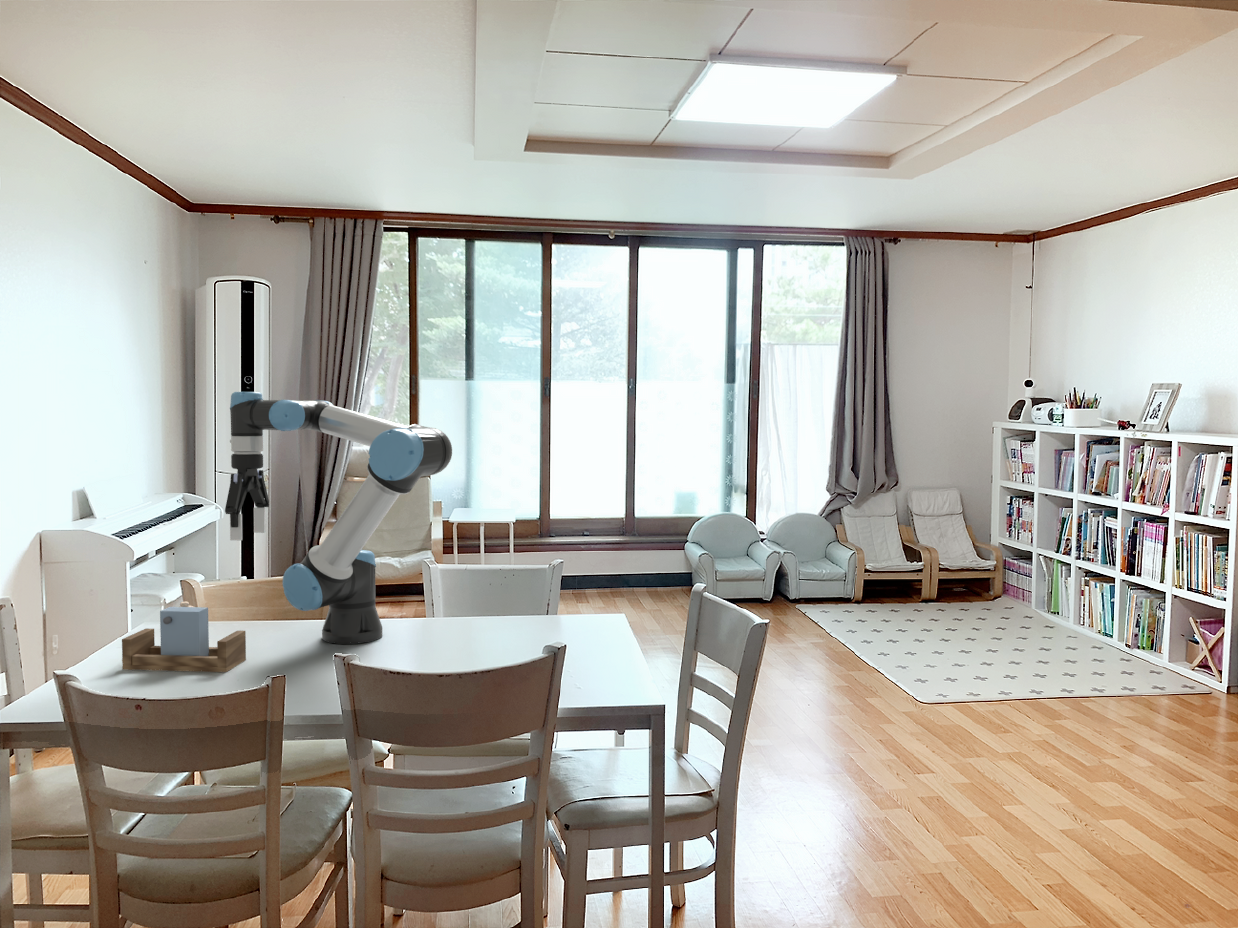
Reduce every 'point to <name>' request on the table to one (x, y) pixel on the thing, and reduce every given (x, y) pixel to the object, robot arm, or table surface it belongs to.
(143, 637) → the track
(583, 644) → the table surface
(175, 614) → the blue box with knob
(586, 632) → the table surface
